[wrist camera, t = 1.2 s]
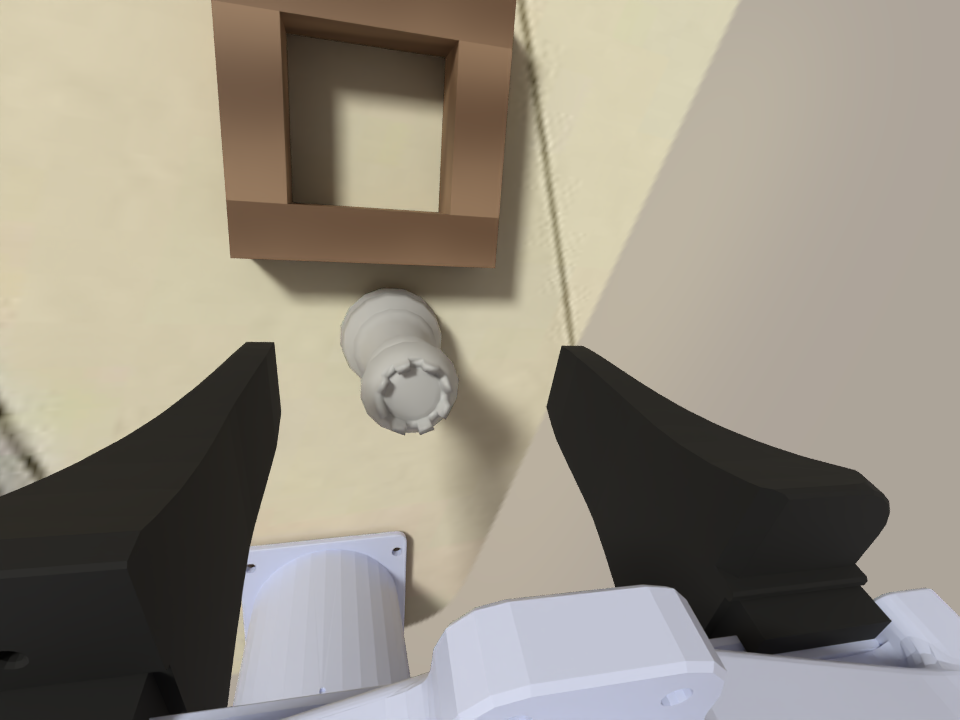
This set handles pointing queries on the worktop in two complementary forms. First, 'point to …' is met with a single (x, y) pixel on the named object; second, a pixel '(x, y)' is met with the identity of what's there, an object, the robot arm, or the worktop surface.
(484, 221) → the walnut docking collar
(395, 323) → the rook chess piece
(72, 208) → the worktop surface
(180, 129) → the worktop surface
